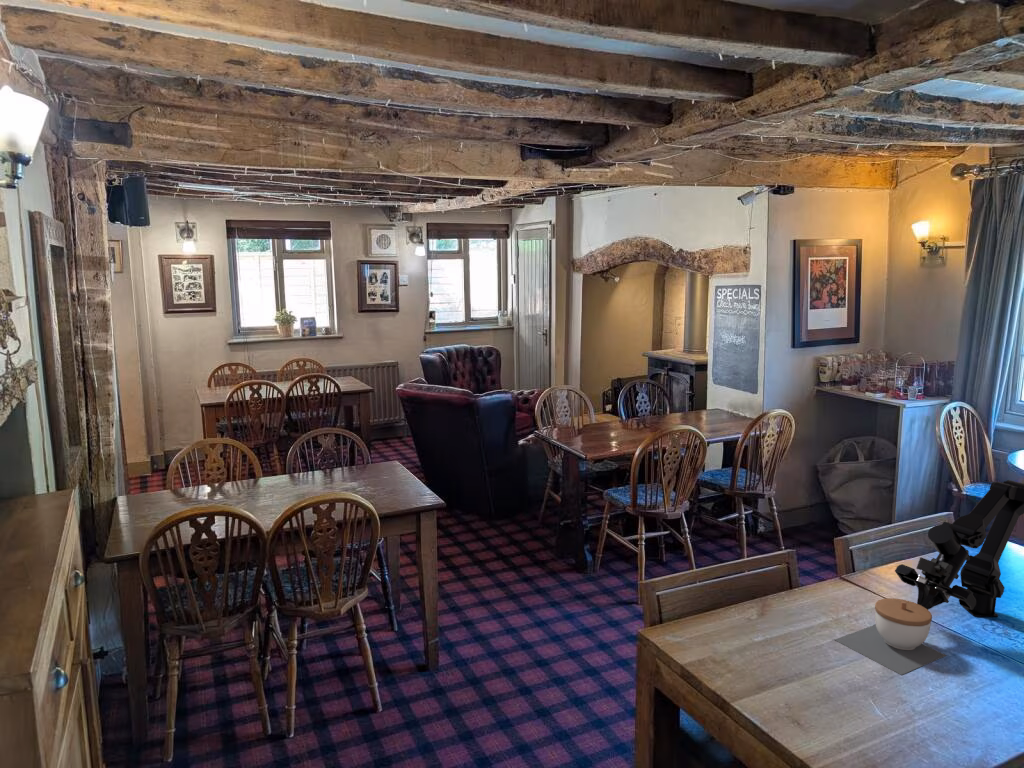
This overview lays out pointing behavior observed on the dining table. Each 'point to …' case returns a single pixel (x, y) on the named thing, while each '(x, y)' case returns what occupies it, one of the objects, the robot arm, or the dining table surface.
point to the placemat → (889, 651)
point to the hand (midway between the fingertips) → (918, 612)
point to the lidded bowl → (902, 623)
